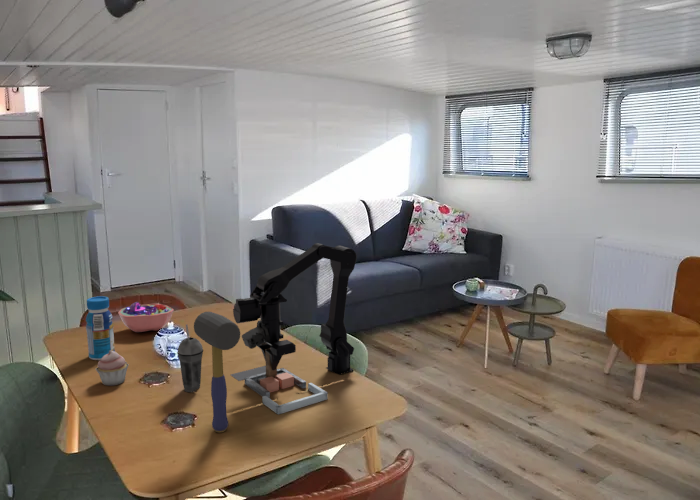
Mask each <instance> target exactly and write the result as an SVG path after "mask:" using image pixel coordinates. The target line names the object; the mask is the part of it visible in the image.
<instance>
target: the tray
mask: <svg viewBox="0 0 700 500" xmlns="http://www.w3.org/2000/svg"><path fill="white" fill-rule="evenodd" d="M307 388H308V389H307V390H308V391H309V392H311V393H312V395H309V396H305V397H301V398H297V399H295V400H292V401H289V402H286V403H283V404H279V403H277V402H276V401H274V400H272V399H271V397H270V398H268V397H267V396H261V397H262V398H261V399H262V404H263V405H265V407H267V408H268V409H270V410H271V411H273V412H274V413H275V414H277V415H281V414H285V413H288V412H290V411H291V412H292V411H294V410H298V409H300V408H303V407H307V406H310V405H313V404H317V403H319V402H320V403H321V402H323V401H326V400H328V397H329V395H328V391H326V390H324V389H323V388H321V387H319V386H318V385H316V384H314V383H313V382H309V383H308V384H307Z"/></svg>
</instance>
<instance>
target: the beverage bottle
mask: <svg viewBox="0 0 700 500" xmlns="http://www.w3.org/2000/svg"><path fill="white" fill-rule="evenodd" d="M86 308H87V310H88V313H87V314H86V315H85V322H86V325H85V329H86V336H87V337H86V338H87V348H88V351H87V352H88V358H89V359H90V360H93V361H100V360H101V359H102V357H103V356H104V355H106V354H109V351H110V350H111V351H115V352H116V349H115V348H116V347H115V336H114V325H115V324H114V322H113V314H112V312H111V311H110V310H109V308H110V299H109V297H108V296H103V295H101V296H100V295H99V296H98V295H97V296H93V297H89V298H87V299H86Z"/></svg>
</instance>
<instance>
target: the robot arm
mask: <svg viewBox="0 0 700 500" xmlns="http://www.w3.org/2000/svg"><path fill="white" fill-rule="evenodd" d="M357 255H358V254H357V253H356V251H355V250H354V249H352V248H350V247H346V246H343V245H336V246H334V247H333V246H330V245H325V244H323V243H318V242H316V243H313V245H312V246H311V247H309V248H308V249H306V250H305V251H303V252H302V253H301V254H299V255H298V256H296V257H295V258H294V259H292V260H291V261H289V262H288V263H287V264H285V265H283V266H282V267H280V268H277V269H272V270H270V271H268V272H266V273H264V274H262V275H260V276H259V277H258V278H257V282H256V285H255V287H254V288H253V290H252V292H251V293H250V295H249V297H245V298H236V299H235V303H234V305H233V309H232V313H233V314H232V315H233V317H234V322H235V324H242V323H243V324H244V323H249V322H250V323H251V322H256V321H257V322H256V327H254V328H251V329H249V330H248V331H246V332H245V333H243V334H241V339H242V341H243V343H244V345H245V346H246V347H248V348H249V349H250V350H251V349H252V350H253V349H255V348H256V347H257V348H259V349H260V350H261V352H262V355H263V358H264V363H266V357H265V351H266V352H267V353H268V354H269V355H270V361H271V368H272V370H276V368H277V369H278V366H279V363H280V361H281V360H282V358H283V356H285V355H289V354H294V353H296V350H297V348H296V347H297V346H296V344H295V343H294V342H293V341H290V340H288V339H284V334H282V333H281V326H283V325H284V320H281V303H287V302H288V299H287V298H285V297H284V296H283V294H282V293H283V292H284V291H285V290H286V289H287V288H288V286H289V284H290V282H291V281H293V280H294V279H295V278H296V277H298V276H299V275H301V274H302V273H304V272H305V271H307V270H308V269H309V268H311V267H312V266H313V265H315V264H316V263H318V262H319V261H321V260H322V259H325V260H329V261H330V264H329V265H330V267H331V270H332V271H331V272H332V274H333V275H332V283H331V284H332V285H331V292H330V302H329V303H330V304H329V313H328V319H327V321H326V323H325V324H323V323H322V324H321V325H320V334H319V337H320V340H321V341H320V342H322V344H323V345H325V347H326V349H327V350H328V351H329V352H328V357H327V367H325V369H326V370H327V371H329V372H330V373H333V374H336V375H339V376H340V375H344V374H346V373H347V374H348V373H351V372H353V371H354V368H352V367H351V355H353V354H354V350H355V347H354V346H352V345H351V344H350V343H349V342H348V333H347V332H348V331H347V329H346V324H345V313H346V305H347V296H348V295H347V294H348V288H349V279H350V276H351V274H352V272H353V271H354V269H355V266H356V264H357V263H356V262H357V259H358V257H357ZM258 319H260V320H258ZM281 339H284V340H281ZM268 348H271V349H268ZM265 349H268V350H265Z"/></svg>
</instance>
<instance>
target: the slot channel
mask: <svg viewBox="0 0 700 500" xmlns="http://www.w3.org/2000/svg"><path fill="white" fill-rule="evenodd" d="M283 372H284V373H286V372H287V373H289V374H290V375H292V376H294V385H296V386H298V387H299V388H300V389H302V390H304V389H307V381H306V380H305V379H302V378H301V377H299V376H298V375H296V374H294V373H293V372H291V371H289V370H287V368H284V367H281V368H277V374H279V373H283ZM264 377H266V372H265V373H261V374H257V375H254V376H250V377H246V378H244V379H245V380H244V385H245V386H246V387H248V388H249V389H251V390H252V391H254V392H255V393H257V394H258V395H259V396H261V397H262V396H267V397H268V398H270V399H271V392H269V391H268V390H266V389H265V388H264V387H262V386H261V385H259V384H258V383H257V379H260V378H264Z"/></svg>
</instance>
